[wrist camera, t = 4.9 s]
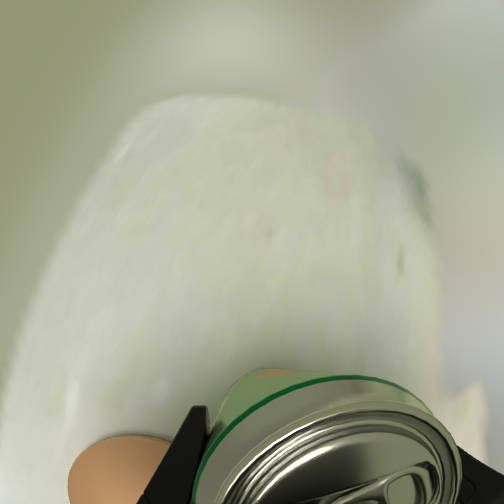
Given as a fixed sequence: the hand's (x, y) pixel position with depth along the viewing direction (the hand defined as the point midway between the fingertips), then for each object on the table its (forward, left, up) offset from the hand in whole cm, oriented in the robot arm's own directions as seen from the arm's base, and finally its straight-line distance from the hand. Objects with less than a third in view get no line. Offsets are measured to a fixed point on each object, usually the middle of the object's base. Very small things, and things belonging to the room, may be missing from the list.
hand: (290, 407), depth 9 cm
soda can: (-1, 0, -7) cm, 7 cm away
